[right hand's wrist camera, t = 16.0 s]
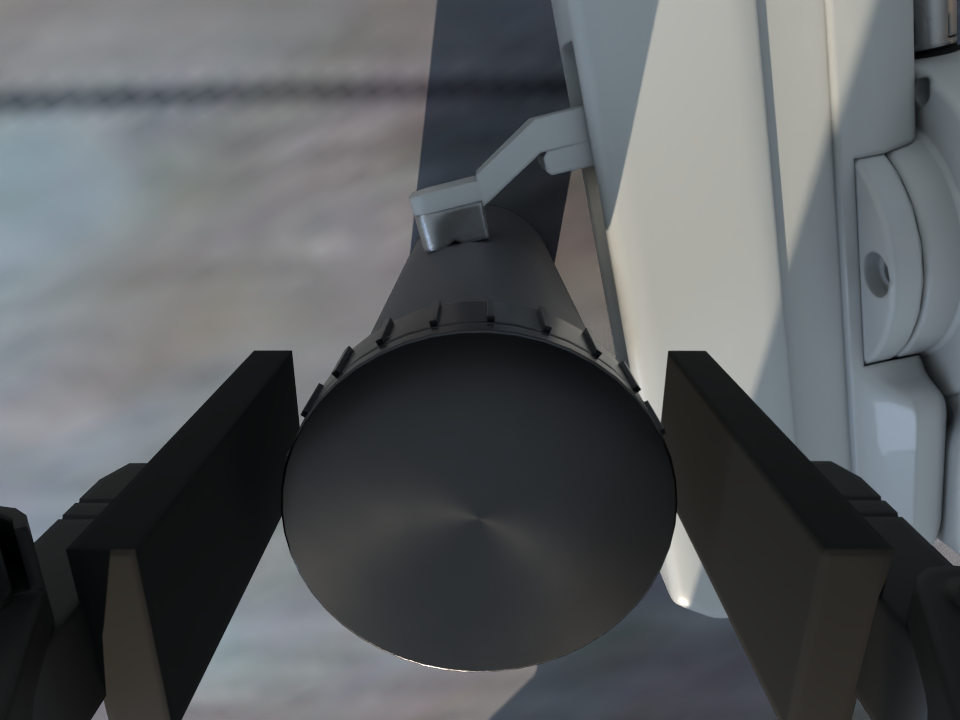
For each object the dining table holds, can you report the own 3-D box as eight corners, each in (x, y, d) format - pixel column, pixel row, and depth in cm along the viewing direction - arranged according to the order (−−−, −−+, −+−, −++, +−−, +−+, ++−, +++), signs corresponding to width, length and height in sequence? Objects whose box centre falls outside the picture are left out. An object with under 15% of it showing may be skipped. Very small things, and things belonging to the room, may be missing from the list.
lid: (252, 339, 11) (216, 375, 9) (630, 257, 10) (656, 281, 9) (357, 634, 13) (341, 703, 11) (676, 577, 13) (703, 641, 11)
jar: (510, 176, 24) (555, 272, 10) (575, 304, 26) (697, 551, 11) (380, 248, 25) (245, 434, 10) (452, 367, 27) (418, 671, 12)
